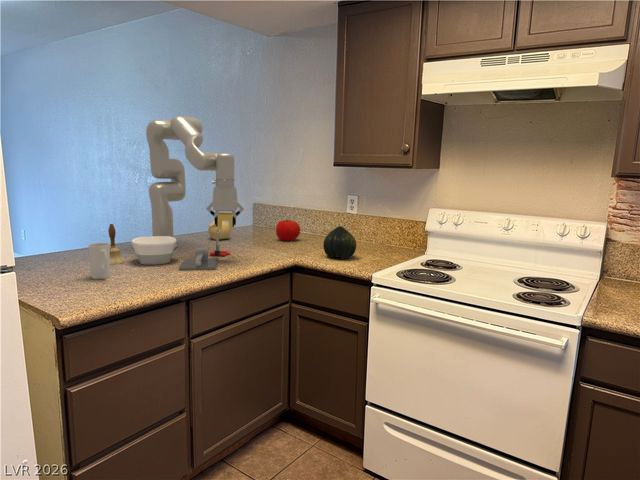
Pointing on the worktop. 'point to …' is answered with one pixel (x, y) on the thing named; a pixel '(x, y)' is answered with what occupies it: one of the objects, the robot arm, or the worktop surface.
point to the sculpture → (223, 232)
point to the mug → (99, 260)
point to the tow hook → (217, 251)
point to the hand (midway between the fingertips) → (225, 226)
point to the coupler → (200, 261)
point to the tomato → (287, 230)
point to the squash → (339, 243)
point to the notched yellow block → (225, 219)
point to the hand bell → (114, 248)
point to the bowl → (154, 249)
